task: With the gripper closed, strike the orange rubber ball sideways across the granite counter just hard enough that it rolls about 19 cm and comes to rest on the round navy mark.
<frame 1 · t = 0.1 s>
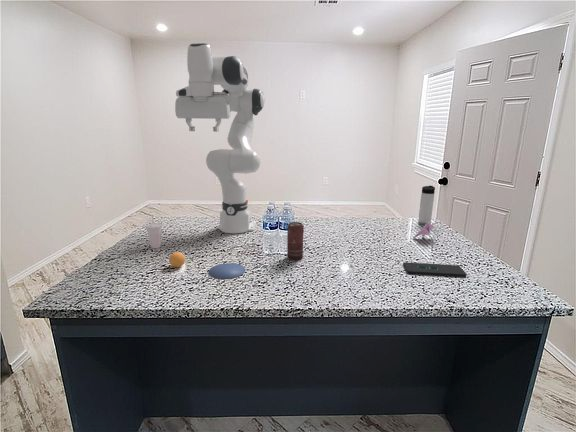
hand: (204, 131, 126), 48 cm above the worktop, tool pointing down, fingers open, 8 cm apart
can: (295, 258, 133), on the worktop
ball: (177, 259, 123), on the worktop
pink bird figurine: (425, 240, 155), on the worktop
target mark: (227, 271, 121), on the worktop
smoothie: (156, 247, 144), on the worktop
smart home device: (433, 272, 123), on the worktop
travel mug: (424, 223, 181), on the worktop
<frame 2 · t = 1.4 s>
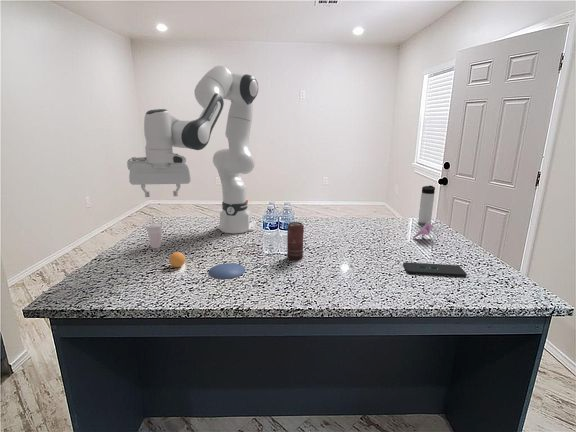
hand: (161, 196, 121), 25 cm above the worktop, tool pointing down, fingers open, 8 cm apart
nothing on the worktop moved.
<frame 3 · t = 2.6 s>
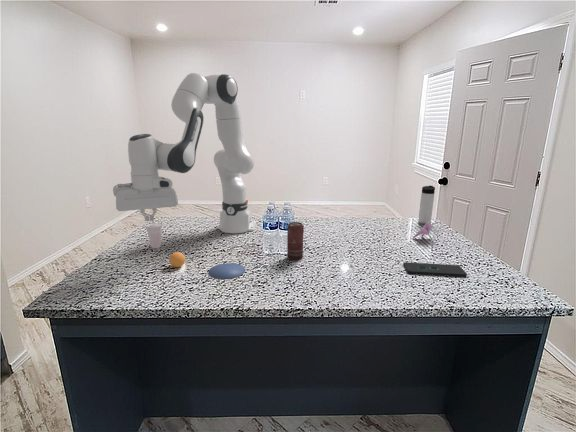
hand: (149, 220, 121), 17 cm above the worktop, tool pointing down, fingers closed
nothing on the worktop moved.
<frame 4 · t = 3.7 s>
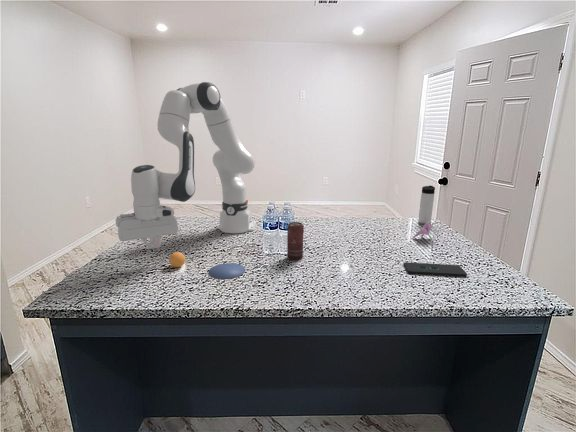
hand: (150, 248, 124), 7 cm above the worktop, tool pointing down, fingers closed
nothing on the worktop moved.
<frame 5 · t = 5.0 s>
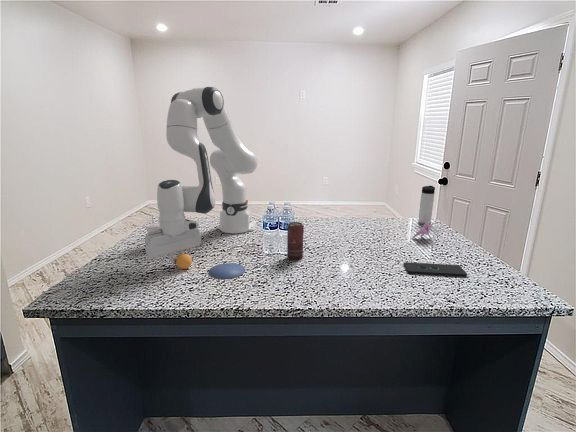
hand: (176, 262, 124), 2 cm above the worktop, tool pointing down, fingers closed
ball: (184, 261, 122), on the worktop
everything else where it was.
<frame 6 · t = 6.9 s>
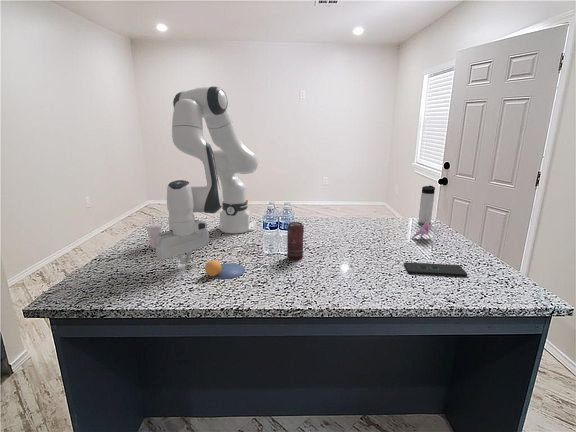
hand: (185, 263, 123), 2 cm above the worktop, tool pointing down, fingers closed
ball: (213, 268, 117), on the worktop
everything else where it was.
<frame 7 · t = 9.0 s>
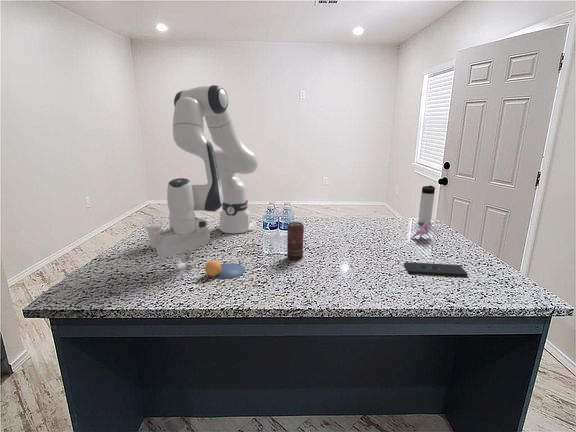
hand: (186, 261, 123), 2 cm above the worktop, tool pointing down, fingers closed
nothing on the worktop moved.
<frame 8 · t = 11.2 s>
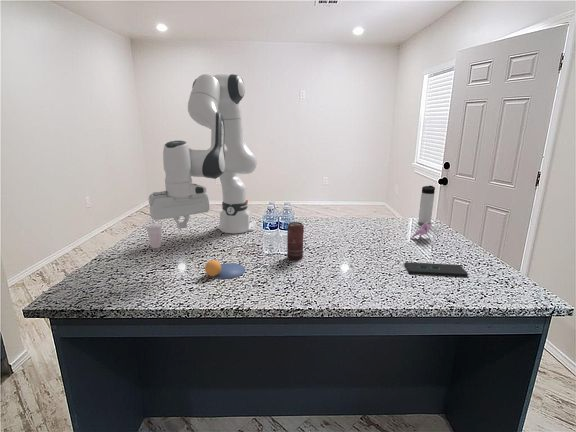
hand: (182, 227, 120), 15 cm above the worktop, tool pointing down, fingers closed
nothing on the worktop moved.
at the end: ball 5.5 cm from the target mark (horizontally); ball at rest at the end (0.0 cm/s); ball moved 16.3 cm from its start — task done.
